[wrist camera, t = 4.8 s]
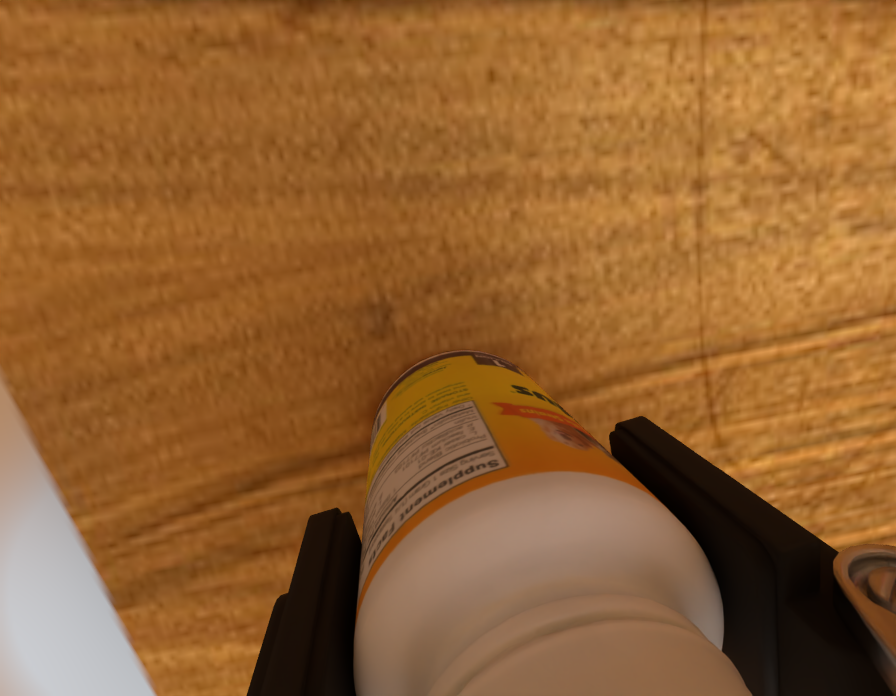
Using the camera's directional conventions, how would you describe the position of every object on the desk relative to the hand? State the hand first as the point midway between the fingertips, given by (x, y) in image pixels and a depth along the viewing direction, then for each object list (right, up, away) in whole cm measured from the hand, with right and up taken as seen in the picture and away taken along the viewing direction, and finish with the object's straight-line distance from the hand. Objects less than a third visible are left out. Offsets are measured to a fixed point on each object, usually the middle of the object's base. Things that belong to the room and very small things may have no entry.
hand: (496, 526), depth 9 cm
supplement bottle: (-1, +1, +5) cm, 5 cm away
